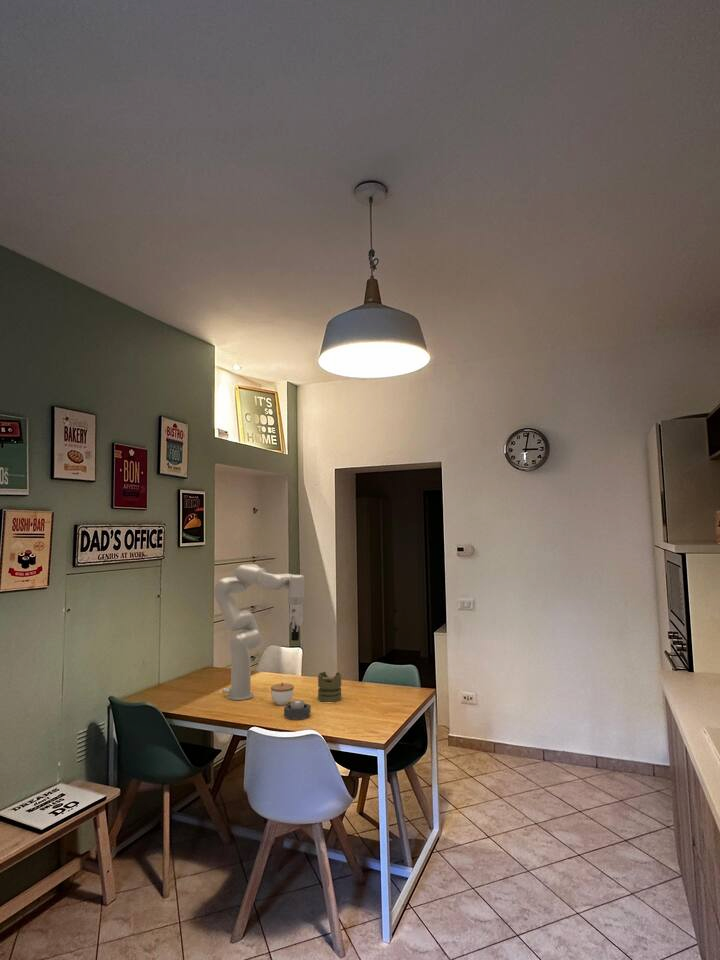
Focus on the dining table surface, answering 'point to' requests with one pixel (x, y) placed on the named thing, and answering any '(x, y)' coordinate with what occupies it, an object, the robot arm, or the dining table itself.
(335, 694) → the olive green vest
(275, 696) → the lidded jar
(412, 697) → the dining table surface
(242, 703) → the dining table surface
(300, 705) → the cap
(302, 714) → the dark grey round ring
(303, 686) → the dining table surface
